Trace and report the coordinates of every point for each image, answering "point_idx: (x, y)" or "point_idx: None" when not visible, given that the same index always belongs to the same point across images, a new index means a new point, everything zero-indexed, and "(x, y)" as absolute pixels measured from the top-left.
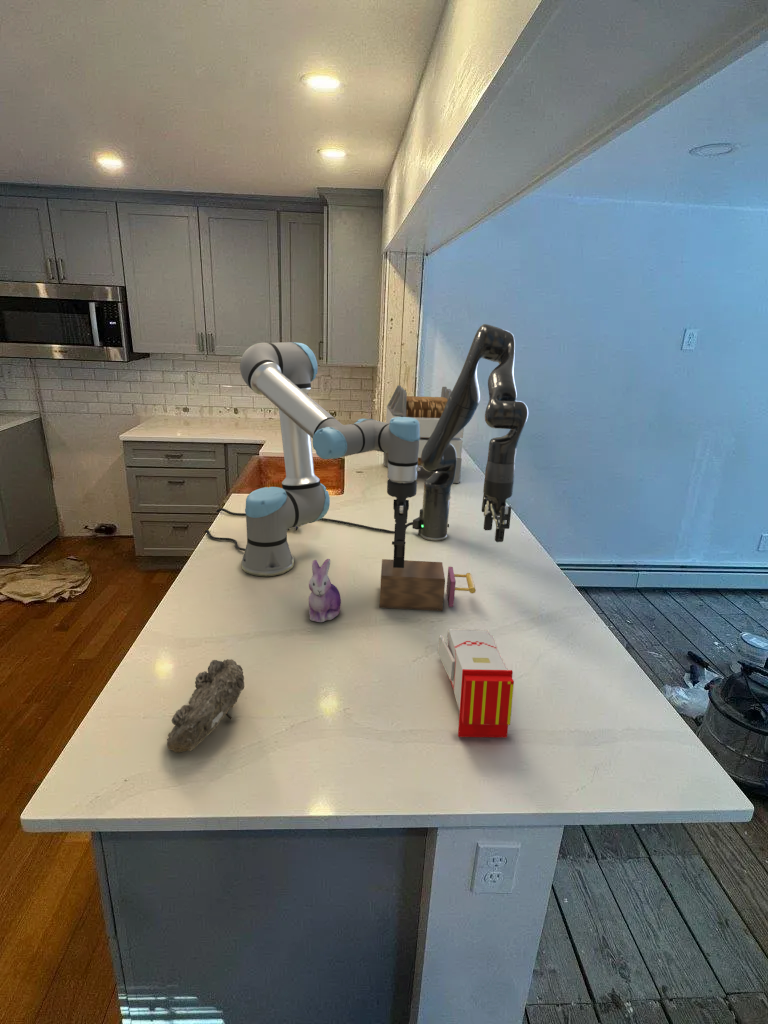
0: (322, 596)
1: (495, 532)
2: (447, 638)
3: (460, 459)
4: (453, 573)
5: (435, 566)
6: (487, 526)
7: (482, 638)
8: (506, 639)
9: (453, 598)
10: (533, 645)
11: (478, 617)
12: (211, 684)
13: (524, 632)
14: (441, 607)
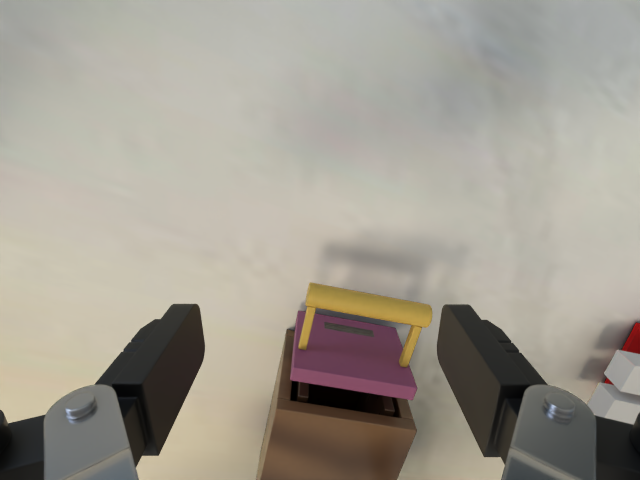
0: None
1: (465, 415)
2: (589, 407)
3: None
4: (351, 379)
5: (312, 436)
6: (191, 356)
7: None
8: (574, 231)
9: (401, 347)
10: (632, 165)
11: (444, 267)
12: None
13: (562, 162)
14: None
